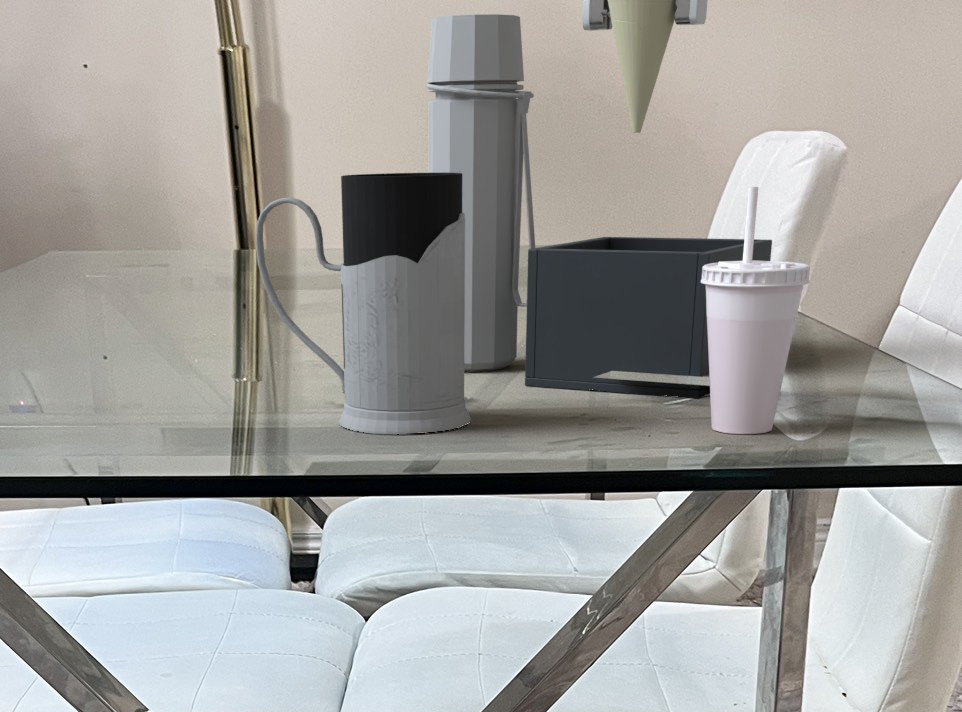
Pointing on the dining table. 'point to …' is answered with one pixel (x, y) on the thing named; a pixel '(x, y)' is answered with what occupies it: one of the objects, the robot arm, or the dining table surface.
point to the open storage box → (623, 311)
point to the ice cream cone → (641, 48)
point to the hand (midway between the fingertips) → (642, 27)
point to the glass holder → (396, 300)
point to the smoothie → (749, 333)
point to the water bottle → (484, 168)
